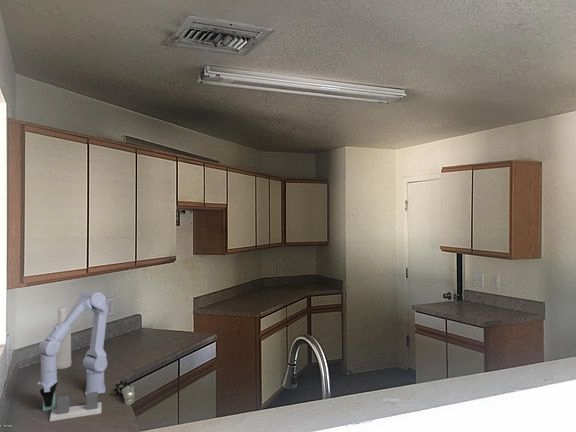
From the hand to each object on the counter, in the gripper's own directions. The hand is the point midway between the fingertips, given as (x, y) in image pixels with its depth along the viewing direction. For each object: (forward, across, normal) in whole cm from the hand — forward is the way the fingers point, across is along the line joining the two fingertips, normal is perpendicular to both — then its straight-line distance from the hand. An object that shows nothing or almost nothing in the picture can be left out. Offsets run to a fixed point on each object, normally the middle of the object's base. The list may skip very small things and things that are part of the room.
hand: (49, 403), depth 184 cm
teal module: (+2, 0, 0) cm, 2 cm away
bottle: (+2, -52, +1) cm, 52 cm away
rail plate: (+2, +9, +11) cm, 14 cm away
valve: (+2, +4, +29) cm, 29 cm away
